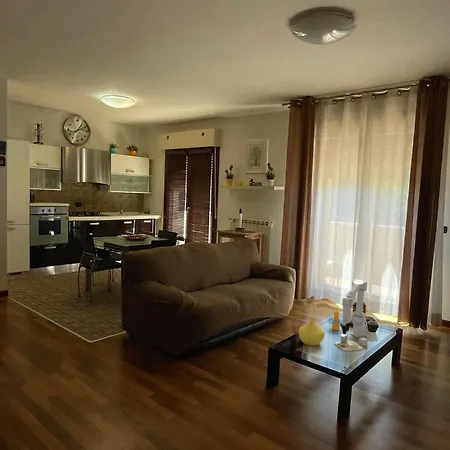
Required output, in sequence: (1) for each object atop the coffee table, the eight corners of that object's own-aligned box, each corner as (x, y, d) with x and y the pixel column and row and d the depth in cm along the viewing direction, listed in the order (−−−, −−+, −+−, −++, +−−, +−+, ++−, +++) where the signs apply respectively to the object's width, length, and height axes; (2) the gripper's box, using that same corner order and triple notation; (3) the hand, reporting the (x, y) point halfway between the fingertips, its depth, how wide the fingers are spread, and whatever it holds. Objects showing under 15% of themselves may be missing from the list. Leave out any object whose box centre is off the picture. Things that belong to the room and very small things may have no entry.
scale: (352, 342, 284) (352, 339, 284) (363, 349, 272) (363, 346, 271) (334, 343, 280) (334, 340, 280) (344, 351, 267) (344, 347, 267)
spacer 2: (363, 344, 282) (364, 337, 281) (367, 346, 278) (367, 339, 277) (358, 344, 280) (359, 338, 280) (362, 346, 277) (362, 340, 276)
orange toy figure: (341, 327, 316) (343, 309, 315) (344, 332, 306) (345, 313, 304) (326, 326, 317) (327, 308, 316) (328, 330, 307) (330, 312, 305)
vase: (305, 336, 292) (306, 311, 291) (328, 343, 281) (329, 317, 279) (293, 343, 278) (294, 317, 276) (316, 350, 266) (318, 323, 265)
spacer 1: (341, 340, 280) (342, 334, 280) (347, 342, 279) (347, 335, 278) (340, 342, 277) (340, 335, 277) (346, 343, 275) (346, 337, 275)
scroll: (362, 322, 330) (364, 300, 328) (370, 329, 315) (372, 305, 313) (346, 322, 329) (347, 299, 327) (352, 328, 314) (354, 304, 312)
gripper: (343, 310, 284) (342, 328, 286) (338, 315, 272) (337, 334, 273) (353, 312, 281) (352, 330, 282) (348, 317, 268) (347, 336, 270)
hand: (345, 332), depth 277 cm, fingers open, 7 cm apart
